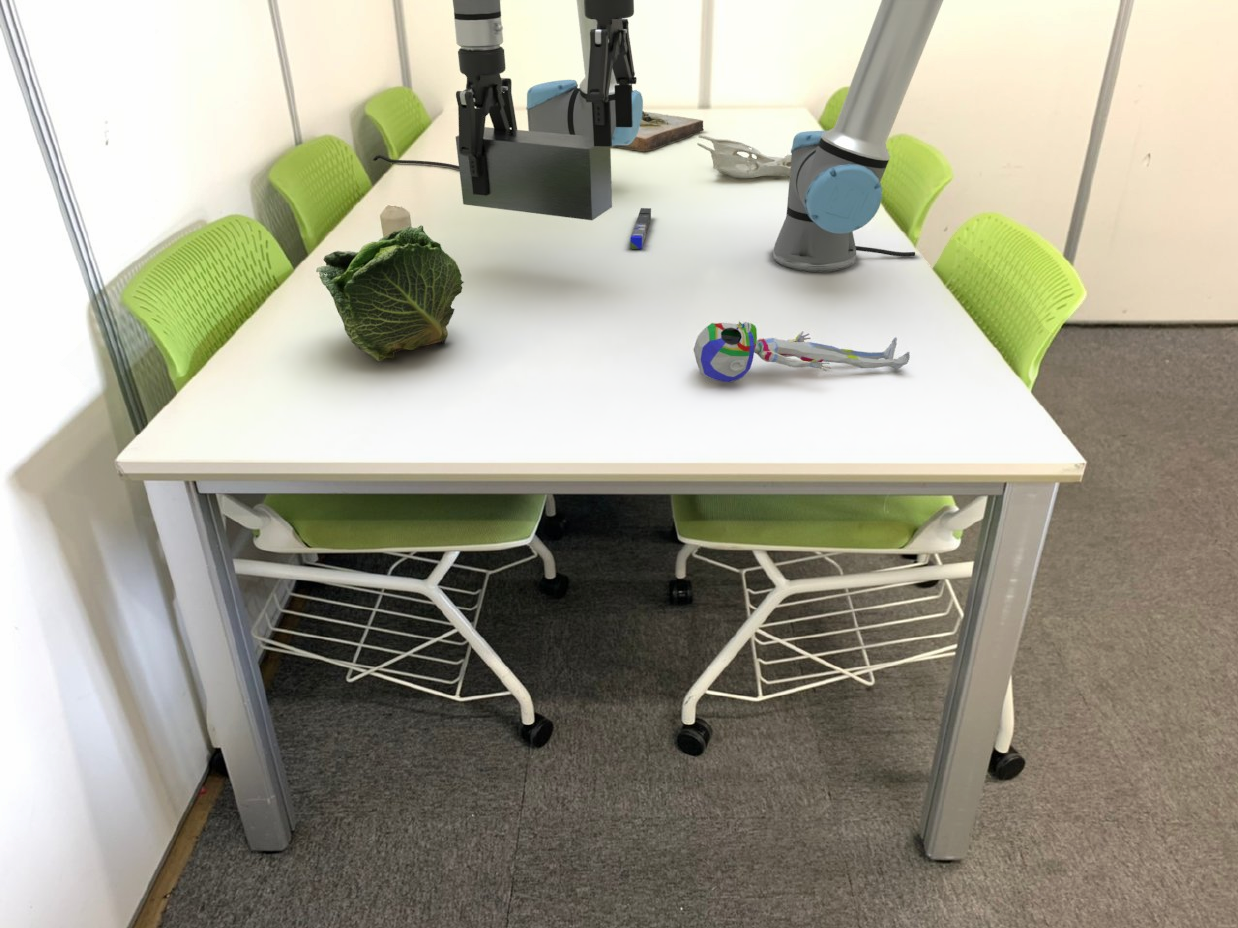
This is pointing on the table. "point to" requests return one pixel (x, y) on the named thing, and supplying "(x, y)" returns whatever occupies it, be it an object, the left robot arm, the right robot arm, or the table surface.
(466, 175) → the box
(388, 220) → the candle
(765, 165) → the anatomical model
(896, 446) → the table surface
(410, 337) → the vegetable
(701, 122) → the plaque
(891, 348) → the toy
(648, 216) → the pillar
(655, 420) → the table surface
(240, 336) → the table surface
